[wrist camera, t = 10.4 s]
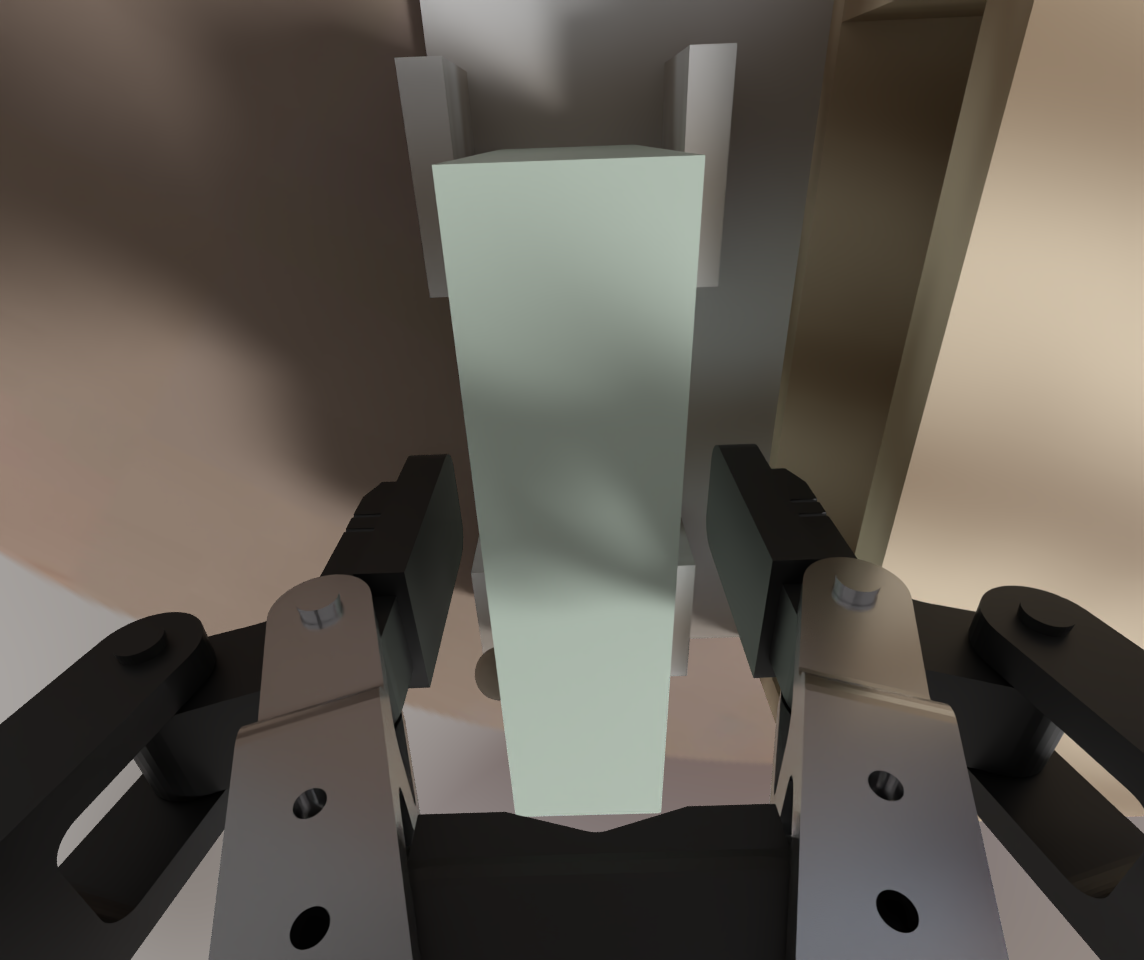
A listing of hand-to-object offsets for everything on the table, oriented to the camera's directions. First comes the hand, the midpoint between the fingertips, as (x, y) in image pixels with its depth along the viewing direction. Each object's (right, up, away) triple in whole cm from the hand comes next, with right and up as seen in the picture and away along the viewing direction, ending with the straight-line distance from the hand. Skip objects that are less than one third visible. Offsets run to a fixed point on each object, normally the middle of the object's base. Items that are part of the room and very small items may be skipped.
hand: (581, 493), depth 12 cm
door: (0, +2, +5) cm, 5 cm away
